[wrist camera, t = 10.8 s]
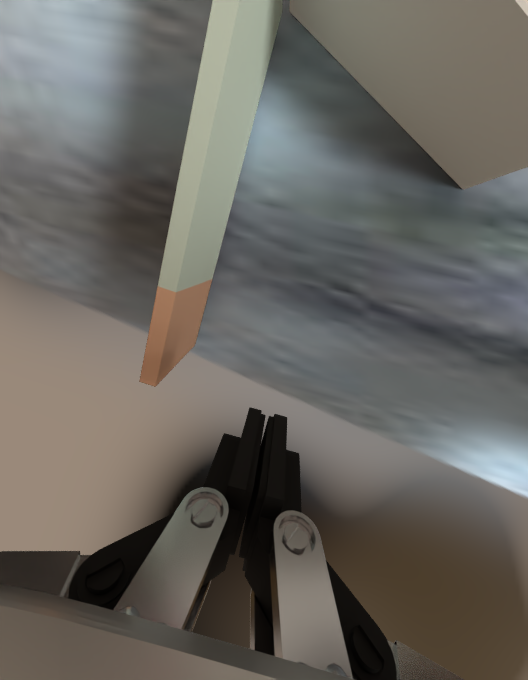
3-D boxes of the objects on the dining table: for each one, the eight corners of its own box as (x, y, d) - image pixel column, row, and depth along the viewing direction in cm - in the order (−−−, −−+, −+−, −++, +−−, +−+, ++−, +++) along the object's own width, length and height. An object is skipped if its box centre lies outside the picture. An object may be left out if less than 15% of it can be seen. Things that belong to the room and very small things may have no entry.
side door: (195, 344, 23) (155, 386, 15) (184, 341, 23) (139, 381, 15) (282, 11, 15) (283, -198, 8) (266, 5, 15) (253, -211, 8)
